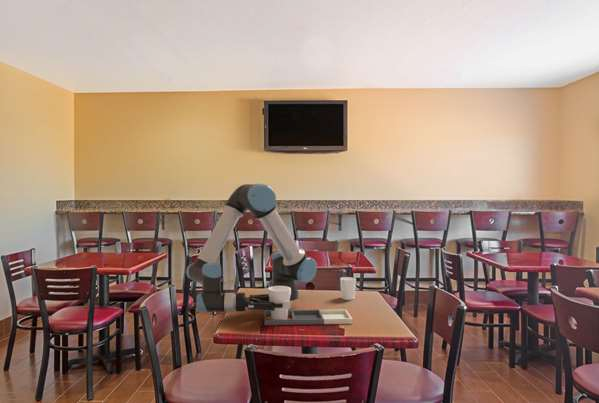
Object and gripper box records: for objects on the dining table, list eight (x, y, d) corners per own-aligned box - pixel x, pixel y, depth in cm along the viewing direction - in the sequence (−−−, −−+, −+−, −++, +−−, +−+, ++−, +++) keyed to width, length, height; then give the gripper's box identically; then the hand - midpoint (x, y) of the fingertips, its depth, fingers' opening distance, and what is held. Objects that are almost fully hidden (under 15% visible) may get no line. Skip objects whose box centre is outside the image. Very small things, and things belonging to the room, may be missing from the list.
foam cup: (291, 316, 169) (292, 286, 169) (289, 323, 160) (289, 291, 160) (269, 315, 170) (270, 285, 170) (265, 322, 161) (266, 290, 161)
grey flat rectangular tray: (264, 325, 158) (264, 320, 158) (264, 315, 171) (264, 310, 171) (352, 323, 161) (352, 318, 161) (345, 313, 174) (345, 309, 174)
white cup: (337, 299, 199) (337, 279, 199) (343, 295, 206) (343, 276, 206) (352, 301, 195) (352, 280, 195) (357, 297, 202) (358, 278, 202)
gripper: (237, 303, 175) (288, 303, 176) (233, 319, 152) (291, 318, 154) (237, 286, 174) (288, 286, 176) (233, 300, 152) (292, 299, 154)
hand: (290, 301), depth 165 cm, fingers closed on foam cup, 9 cm apart
